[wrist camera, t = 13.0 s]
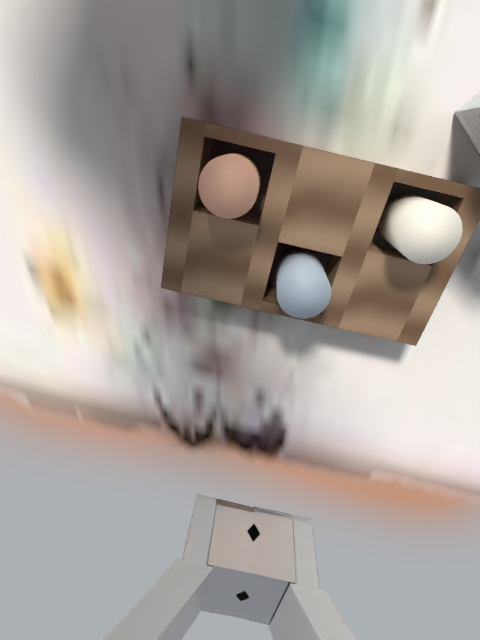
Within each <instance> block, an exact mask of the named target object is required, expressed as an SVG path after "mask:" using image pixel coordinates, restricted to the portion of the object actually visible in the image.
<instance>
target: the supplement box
mask: <svg viewBox="0 0 480 640" xmlns="http://www.w3.org/2000/svg"><path fill="white" fill-rule="evenodd" d="M455 114H456V116H457V117H458V119H459V121H460V123H461V124H462V126H463V128H464V129H465V131H466V133H467V134H468V136H469V138H470V139H471V141H472V143H473V145H474V146H475V148H476V150H477V151H478V153H479V155H480V92H479V93H478V94H477V95H475V96H474V97H473V98H472V99H470V100H469V101H468V102H466V103H465V104H464V105H462V106H461V107H460V108H459V109H457V110H456V111H455Z"/></svg>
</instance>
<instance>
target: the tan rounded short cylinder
mask: <svg viewBox="0 0 480 640" xmlns="http://www.w3.org/2000/svg"><path fill="white" fill-rule="evenodd" d="M260 183H261V178H260V172H259V169H258V167H257V165H256V164H255V162H254V161H253V160H252V159H251V158H249V157H248V156H246V155H244V154H241V153H230V154H226V155H222V156H218V157H216V158H214V159H212V160H211V161H210V162H208V163H207V164H206V166H205V167H204V168H203V170H202V172H201V174H200V177H199V184H198V189H199V195H200V198H201V200H202V202H203V204H204V205H205V207H206V208H207V209H208V210H209V211H210V212H211V213H213V214H214V215H216V216H218V217H221V218H226V219H232V218H237V217H240V216H242V215H244V214H245V213H247V212H248V211H249V210H250V209H251V208H252V206H253V205H254V203H255V201H256V199H257V195H258V192H259V188H260Z"/></svg>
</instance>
